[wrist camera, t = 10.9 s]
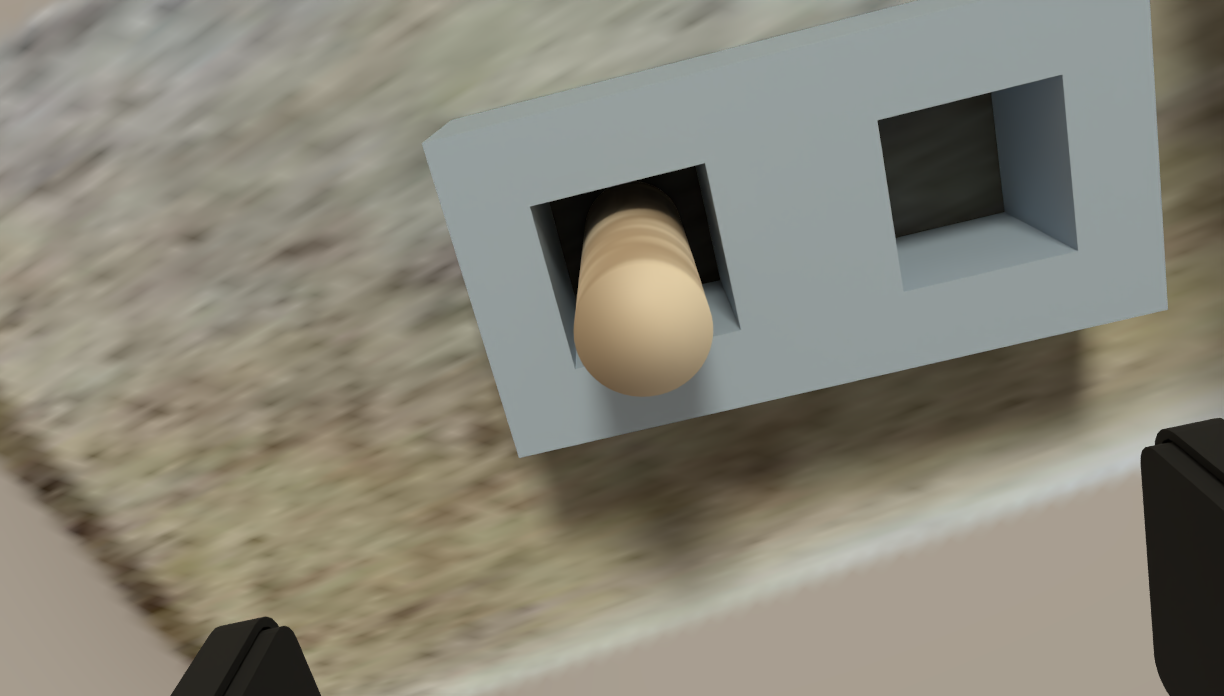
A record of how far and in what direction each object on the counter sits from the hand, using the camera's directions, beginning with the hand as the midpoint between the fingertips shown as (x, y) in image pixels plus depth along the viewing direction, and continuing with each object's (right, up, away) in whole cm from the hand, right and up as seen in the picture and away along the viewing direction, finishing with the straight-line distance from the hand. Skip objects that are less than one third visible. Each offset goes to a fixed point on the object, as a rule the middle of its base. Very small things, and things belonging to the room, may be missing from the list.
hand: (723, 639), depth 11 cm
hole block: (+4, +8, +20) cm, 21 cm away
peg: (-1, +7, +20) cm, 21 cm away
